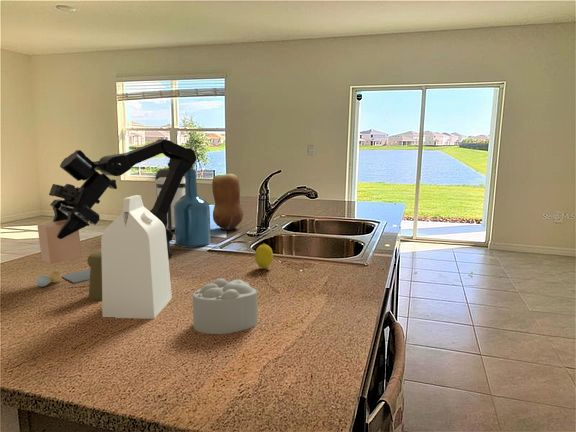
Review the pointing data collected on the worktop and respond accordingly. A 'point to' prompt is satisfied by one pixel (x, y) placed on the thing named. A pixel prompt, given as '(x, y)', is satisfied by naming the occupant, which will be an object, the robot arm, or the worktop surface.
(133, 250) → the milk
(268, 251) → the lemon
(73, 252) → the pink rectangular block
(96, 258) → the cork
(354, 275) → the worktop surface
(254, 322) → the lumpy-topped squat cylinder
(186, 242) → the wine bottle
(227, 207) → the butternut squash
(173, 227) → the coffee press
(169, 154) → the robot arm
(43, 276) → the marble
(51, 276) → the marble
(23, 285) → the worktop surface
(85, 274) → the coaster
